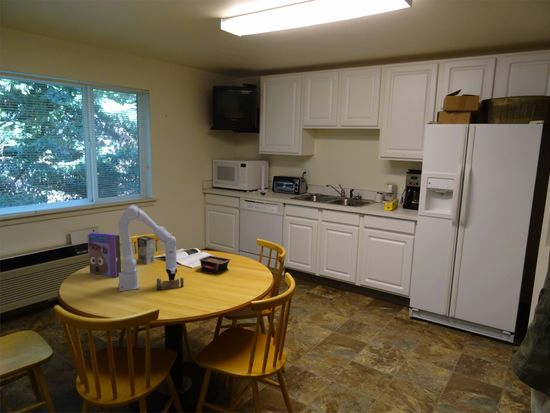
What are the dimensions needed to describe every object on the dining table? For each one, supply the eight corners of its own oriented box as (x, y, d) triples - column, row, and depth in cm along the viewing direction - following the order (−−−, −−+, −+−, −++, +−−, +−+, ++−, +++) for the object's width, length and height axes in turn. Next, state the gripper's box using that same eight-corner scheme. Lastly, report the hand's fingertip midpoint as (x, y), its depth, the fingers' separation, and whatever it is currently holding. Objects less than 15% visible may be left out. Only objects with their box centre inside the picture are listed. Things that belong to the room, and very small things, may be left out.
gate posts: (157, 290, 197) (156, 280, 196) (156, 289, 199) (156, 278, 197) (183, 287, 202) (183, 276, 201) (183, 286, 204) (183, 275, 203)
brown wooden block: (162, 289, 198) (162, 281, 197) (162, 288, 199) (162, 280, 199) (179, 287, 201) (179, 279, 201) (178, 286, 203) (178, 278, 202)
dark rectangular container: (213, 267, 241) (210, 252, 239) (235, 269, 231) (232, 253, 229) (197, 275, 229) (194, 260, 227) (220, 277, 219) (217, 261, 218)
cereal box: (90, 274, 218) (87, 234, 214) (95, 271, 222) (93, 232, 218) (116, 277, 214) (114, 236, 210) (121, 274, 218) (119, 234, 214)
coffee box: (137, 261, 242) (136, 237, 239) (145, 259, 247) (144, 235, 245) (147, 264, 237) (146, 240, 234) (155, 262, 243) (154, 237, 240)
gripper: (180, 261, 198) (181, 285, 201) (176, 253, 211) (176, 276, 214) (167, 262, 196) (167, 287, 198) (163, 254, 209) (164, 278, 211)
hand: (171, 281), depth 206 cm, fingers closed
